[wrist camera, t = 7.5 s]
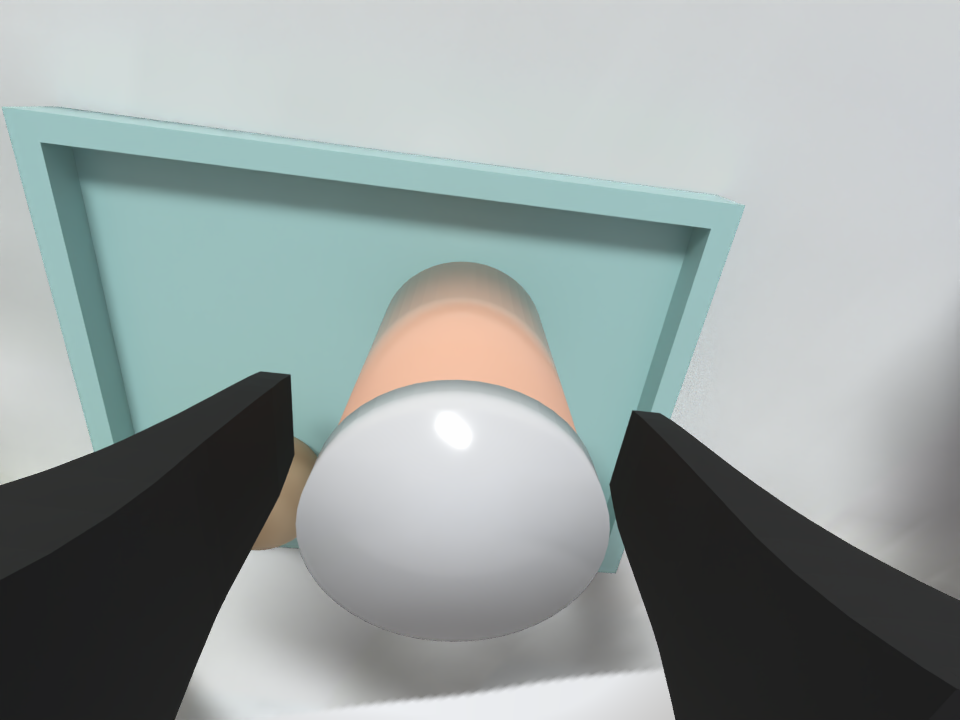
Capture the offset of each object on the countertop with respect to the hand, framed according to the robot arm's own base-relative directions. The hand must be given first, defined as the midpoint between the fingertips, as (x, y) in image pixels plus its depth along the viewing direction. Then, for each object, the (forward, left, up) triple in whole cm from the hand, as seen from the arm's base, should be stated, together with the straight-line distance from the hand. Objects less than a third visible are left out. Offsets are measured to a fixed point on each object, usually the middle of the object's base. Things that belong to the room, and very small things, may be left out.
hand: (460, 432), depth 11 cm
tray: (+2, +1, -4) cm, 5 cm away
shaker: (0, 0, -4) cm, 4 cm away
